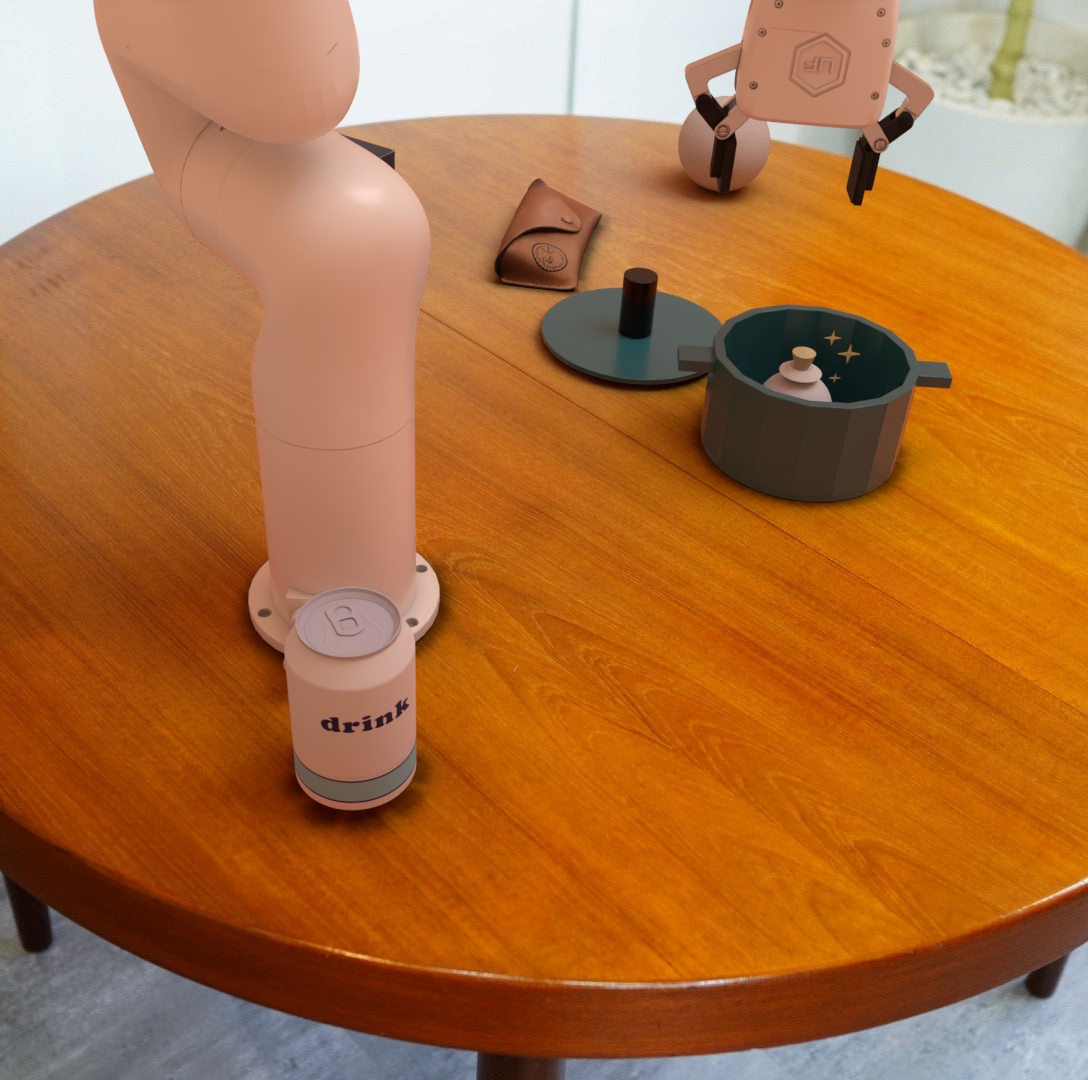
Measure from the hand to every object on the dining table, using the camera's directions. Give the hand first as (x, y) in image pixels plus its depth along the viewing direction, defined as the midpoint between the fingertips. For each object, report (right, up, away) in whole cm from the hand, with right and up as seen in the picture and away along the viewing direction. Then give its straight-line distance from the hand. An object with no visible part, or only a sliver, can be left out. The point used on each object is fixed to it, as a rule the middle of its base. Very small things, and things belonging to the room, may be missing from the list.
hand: (787, 192), depth 96 cm
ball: (+2, +14, +50) cm, 52 cm away
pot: (+3, -18, +10) cm, 21 cm away
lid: (-10, -7, +22) cm, 25 cm away
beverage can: (-29, -39, -20) cm, 53 cm away
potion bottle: (+2, -18, +10) cm, 20 cm away
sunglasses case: (-17, +4, +36) cm, 40 cm away
